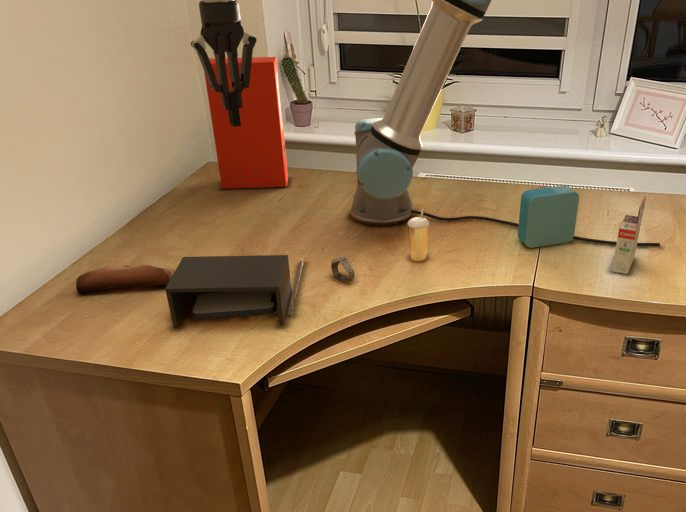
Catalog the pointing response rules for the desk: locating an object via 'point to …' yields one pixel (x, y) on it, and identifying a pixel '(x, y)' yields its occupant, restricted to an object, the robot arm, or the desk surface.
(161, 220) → the desk surface
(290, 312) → the rails
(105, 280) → the sunglasses case
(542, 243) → the data package
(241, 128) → the tall red block
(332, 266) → the wristwatch
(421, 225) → the milkshake
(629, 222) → the ink box
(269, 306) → the phone case
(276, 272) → the cover
